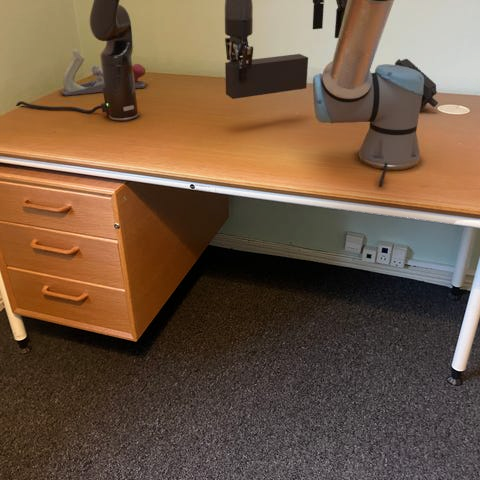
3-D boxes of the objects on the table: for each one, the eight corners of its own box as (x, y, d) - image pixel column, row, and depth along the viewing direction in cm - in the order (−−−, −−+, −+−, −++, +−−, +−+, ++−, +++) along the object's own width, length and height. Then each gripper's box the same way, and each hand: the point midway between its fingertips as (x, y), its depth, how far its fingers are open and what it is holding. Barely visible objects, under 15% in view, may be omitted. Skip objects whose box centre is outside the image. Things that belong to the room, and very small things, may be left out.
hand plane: (62, 90, 197) (53, 48, 189) (145, 82, 205) (140, 41, 197) (62, 96, 191) (54, 53, 184) (148, 87, 199) (143, 45, 191)
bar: (297, 84, 163) (299, 53, 158) (306, 88, 159) (308, 57, 155) (225, 94, 155) (225, 62, 150) (232, 99, 151) (232, 66, 146)
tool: (377, 89, 181) (403, 52, 170) (419, 126, 177) (449, 91, 166) (368, 93, 177) (394, 56, 166) (411, 131, 173) (441, 96, 162)
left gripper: (215, 12, 147) (217, 75, 156) (236, 21, 136) (237, 88, 145) (240, 10, 149) (240, 72, 158) (263, 19, 138) (261, 84, 147)
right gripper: (300, -58, 143) (297, 26, 154) (343, -54, 122) (336, 42, 133) (325, -59, 145) (320, 24, 156) (372, -55, 124) (363, 40, 135)
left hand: (238, 79), depth 151 cm, fingers closed on bar, 5 cm apart
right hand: (328, 33), depth 145 cm, fingers open, 13 cm apart
